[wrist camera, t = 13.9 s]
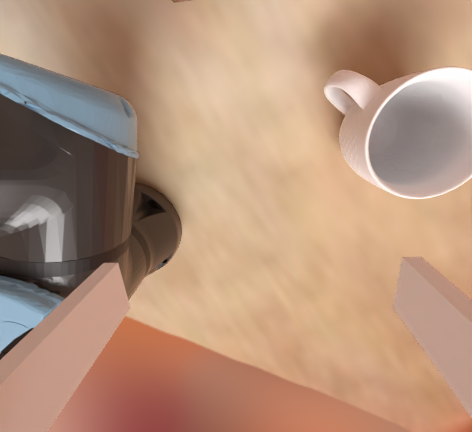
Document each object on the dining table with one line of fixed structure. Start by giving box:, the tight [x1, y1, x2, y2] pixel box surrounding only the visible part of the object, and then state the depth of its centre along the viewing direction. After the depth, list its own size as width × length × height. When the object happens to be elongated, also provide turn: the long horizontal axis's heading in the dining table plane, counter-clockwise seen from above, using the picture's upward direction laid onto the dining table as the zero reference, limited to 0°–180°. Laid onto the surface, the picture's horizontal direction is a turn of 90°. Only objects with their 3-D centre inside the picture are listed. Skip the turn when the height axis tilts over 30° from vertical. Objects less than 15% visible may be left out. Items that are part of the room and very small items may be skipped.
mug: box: [324, 67, 472, 199], centre depth 27 cm, size 15×11×13 cm
